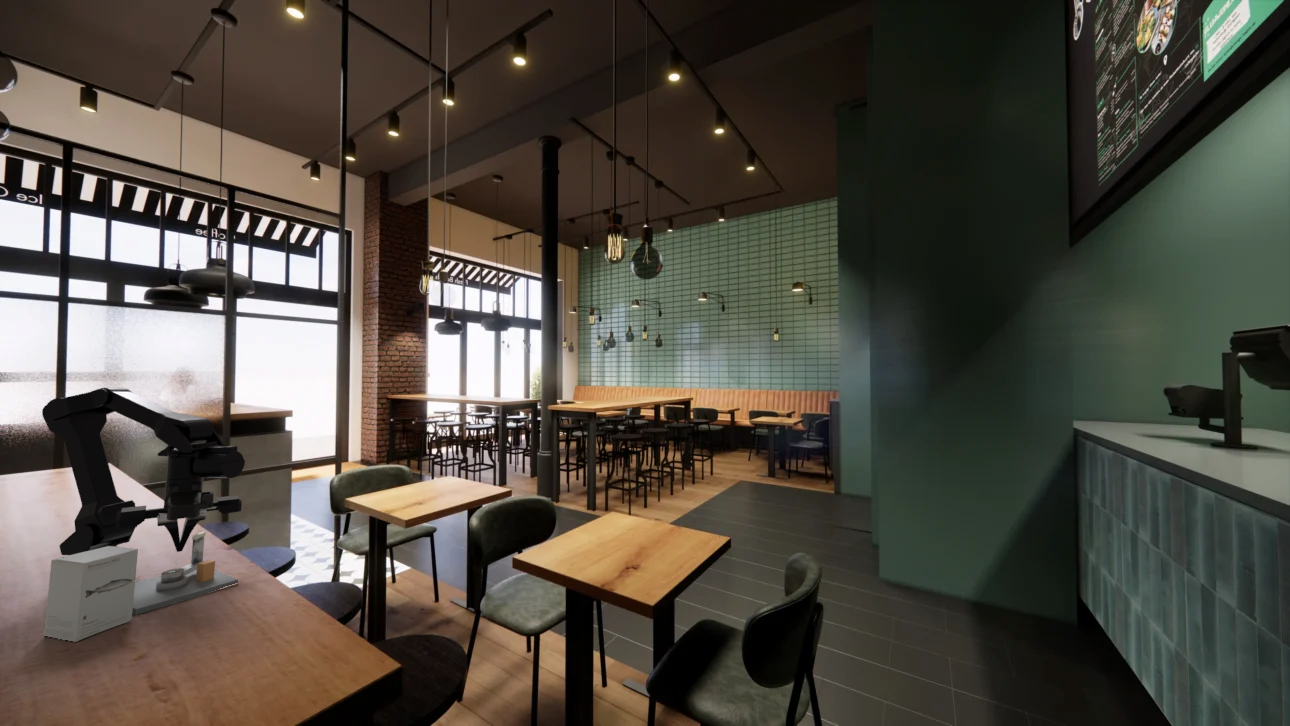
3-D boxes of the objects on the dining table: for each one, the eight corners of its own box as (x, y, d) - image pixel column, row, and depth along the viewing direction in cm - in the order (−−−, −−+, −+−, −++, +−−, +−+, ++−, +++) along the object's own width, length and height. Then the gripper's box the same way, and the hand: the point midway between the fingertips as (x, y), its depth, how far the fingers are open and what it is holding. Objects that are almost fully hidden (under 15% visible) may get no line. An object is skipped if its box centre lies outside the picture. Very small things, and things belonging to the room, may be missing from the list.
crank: (176, 582, 92) (178, 546, 92) (156, 583, 91) (159, 547, 92) (209, 564, 102) (211, 531, 102) (191, 565, 101) (194, 532, 101)
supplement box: (75, 643, 74) (82, 563, 75) (41, 637, 76) (49, 558, 77) (133, 621, 82) (139, 548, 82) (102, 616, 83) (108, 544, 84)
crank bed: (102, 595, 91) (104, 571, 91) (202, 569, 104) (203, 549, 104) (135, 614, 84) (137, 589, 84) (237, 584, 97) (239, 562, 97)
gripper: (117, 489, 87) (109, 574, 86) (246, 477, 101) (241, 550, 100) (120, 480, 95) (114, 558, 94) (240, 470, 108) (236, 538, 108)
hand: (179, 551), depth 99 cm, fingers closed
